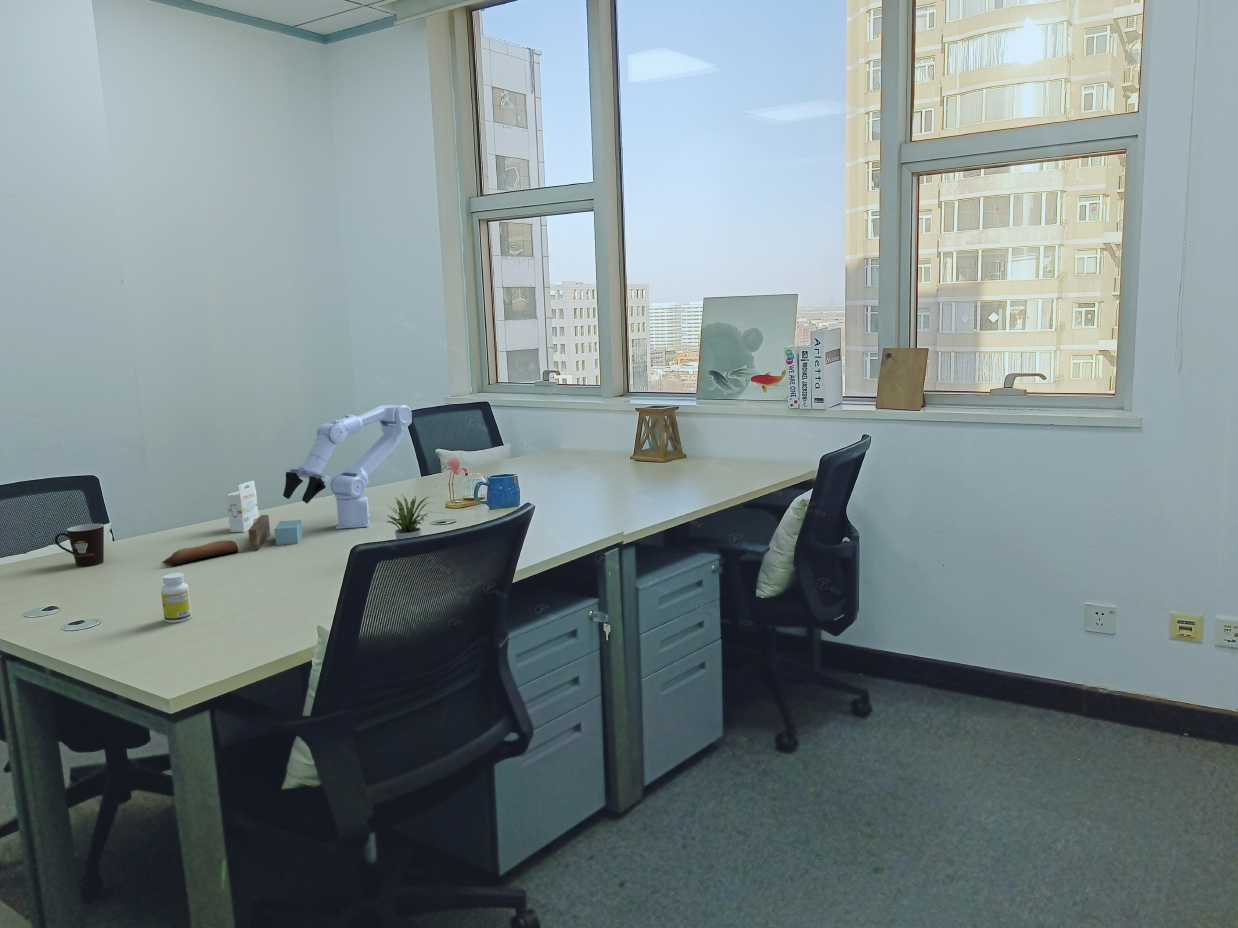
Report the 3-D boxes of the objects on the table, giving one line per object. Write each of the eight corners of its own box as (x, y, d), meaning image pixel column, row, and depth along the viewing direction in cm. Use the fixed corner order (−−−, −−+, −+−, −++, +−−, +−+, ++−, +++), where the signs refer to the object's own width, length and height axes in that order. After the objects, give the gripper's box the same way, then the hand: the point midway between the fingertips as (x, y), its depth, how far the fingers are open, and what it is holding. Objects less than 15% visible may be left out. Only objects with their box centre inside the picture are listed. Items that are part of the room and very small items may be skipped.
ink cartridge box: (245, 525, 289) (241, 479, 286) (260, 526, 288) (255, 479, 285) (229, 532, 280) (224, 484, 278) (243, 532, 279) (239, 485, 277)
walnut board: (270, 534, 276) (268, 514, 275) (257, 550, 257) (255, 529, 256) (263, 534, 276) (261, 515, 275) (250, 550, 256) (248, 529, 255)
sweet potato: (224, 548, 260) (228, 529, 257) (236, 563, 257) (240, 545, 253) (159, 562, 247) (162, 543, 244) (170, 579, 243) (173, 560, 240)
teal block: (302, 536, 273) (301, 519, 272) (298, 544, 263) (296, 527, 263) (281, 537, 272) (279, 521, 271) (276, 545, 262) (274, 528, 261)
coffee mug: (115, 560, 250) (111, 524, 249) (88, 568, 242) (83, 531, 241) (83, 557, 254) (78, 522, 253) (55, 566, 246) (50, 529, 245)
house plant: (451, 548, 252) (447, 489, 250) (420, 561, 240) (416, 499, 237) (409, 544, 258) (405, 487, 256) (376, 556, 246) (372, 496, 243)
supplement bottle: (170, 615, 201) (165, 572, 199) (196, 614, 201) (191, 571, 200) (160, 624, 195) (155, 579, 194) (186, 622, 196) (181, 578, 194)
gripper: (290, 449, 272) (268, 489, 267) (327, 456, 266) (305, 497, 261) (305, 460, 278) (283, 500, 273) (341, 468, 272) (319, 508, 266)
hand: (295, 499), depth 267 cm, fingers open, 7 cm apart
